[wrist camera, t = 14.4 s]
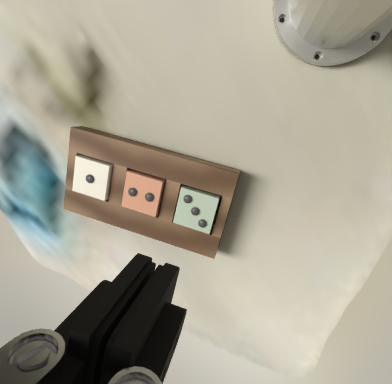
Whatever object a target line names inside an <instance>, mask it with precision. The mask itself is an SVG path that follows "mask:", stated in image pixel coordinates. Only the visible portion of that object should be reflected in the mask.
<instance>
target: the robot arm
mask: <svg viewBox="0 0 392 384" xmlns="http://www.w3.org/2000/svg"><path fill="white" fill-rule="evenodd" d="M273 16H274V24H275V28H276V31H277V34H278V36H279V38H280V40H281V42H282V44H283V45H284V46H285V47H286V49H287V50H288V51H289V52H290V53H291V54H293V55H294V56H295V57H296V58H298V59H300V60H302V61H304V62H306V63H309V64H313V65H317V66H334V65H341V64H344V63H347V62H350V61H353V60H355V59H357V58H359V57H361V56H362V55H364V54H366V53H367V52H369V51H370V50H372V49H373V48H374V47H375V46H377V45H378V44H379V43H380V42H381V41H382V40H383V39H384V38H385V37H386V36H387V34H388V33H389V32H390V31H391V30H392V0H274V3H273ZM280 19H284V22H283V23H280ZM371 36H373V37H374V38H375V39H374V41H372V40H371ZM315 55H318V56H319V59H315ZM155 266H156V264H155V263H153V262H152V258H151V257H148V256H145V255H142V254H139V253H138V254H137V255H136V256H135V257H134V258H133V259H132V260H131V261H130V262H129V263H128V264H127V266H126V267H125V268H124V269H123V270H122V271H121V272H120V273H119V275H118V276H117V277H116V278H115V279H114V280H113V281H112V282H110V281H107V280H103V281H102V282H101V283H100V284H99V285H98V286H97V287H96V288H95V289H94V290H93V291H92V292H91V293H90V294H89V295H88V296H87V297H86V298H85V299H84V300H83V301H82V302H81V303H80V305H79V306H78V307H77V308H76V309H75V310H74V311H73V312H72V313H71V314H70V315H69V316H68V317H67V318H66V319H65V320H64V321H63V322H62V323H61V324H60V325H59V326H58V327H57V329H55V330H54V331H53V330H50V329H35V330H30V331H28V332H25V333H22V334H20V335H19V336H17V337H15V338H14V339H12V340H11V341H10V342H8V343H7V344H5V345H4V346H3V347H1V348H0V384H163V381H164V378H165V375H166V373H167V370H168V367H169V364H170V362H171V359H172V356H173V353H174V351H175V348H176V345H177V342H178V339H179V336H180V333H181V330H182V326H183V323H184V319H185V315H186V311H187V309H184V308H181V307H179V306H176V305H173V304H171V302H172V298H173V294H174V290H175V286H176V282H177V278H178V274H179V269H180V268H179V267H177V266H174V265H171V264H168V263H165V264H164V266H162V265H158V267H157V268H156V270H155Z"/></svg>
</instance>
